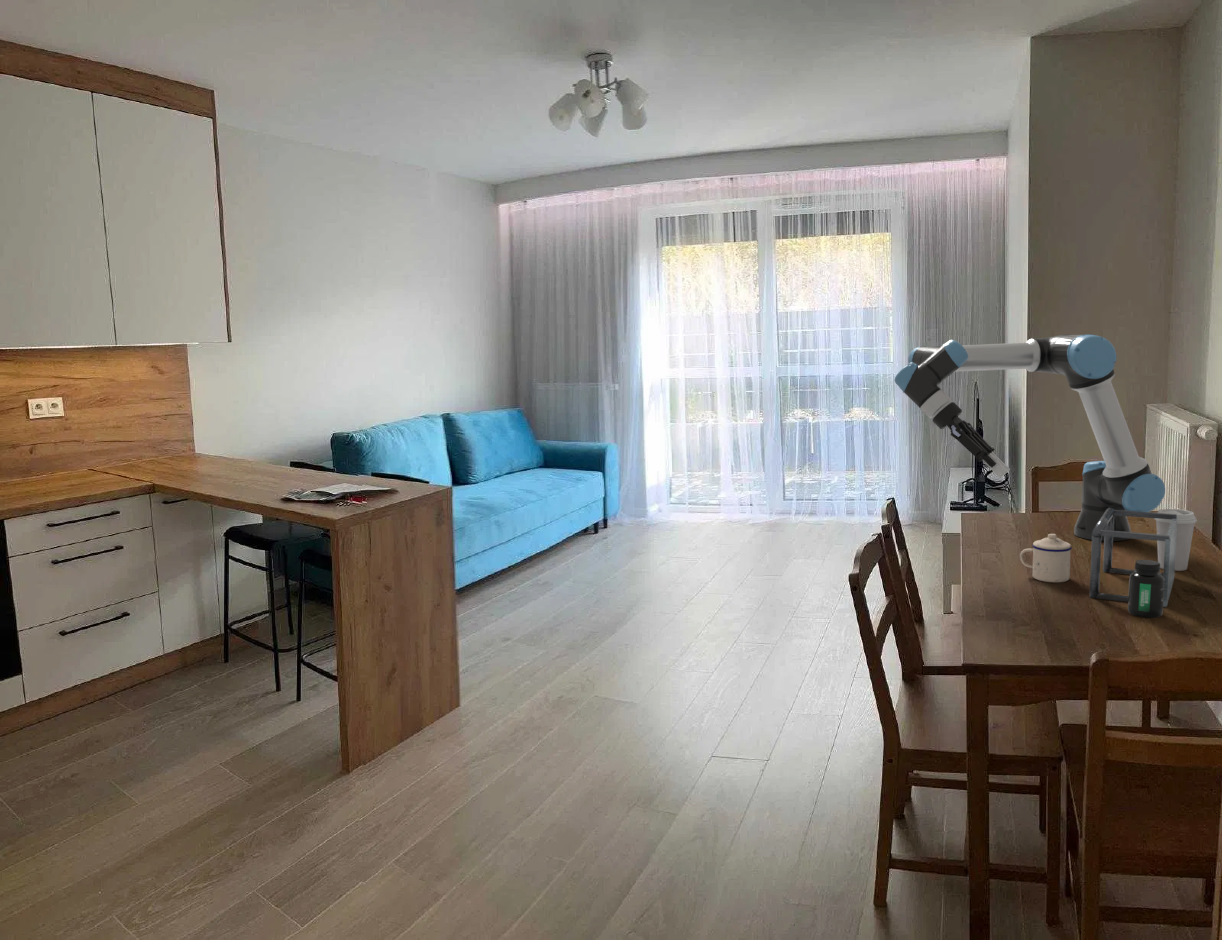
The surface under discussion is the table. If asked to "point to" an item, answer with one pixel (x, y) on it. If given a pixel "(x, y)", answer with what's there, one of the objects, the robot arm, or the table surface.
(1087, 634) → the table surface
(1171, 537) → the box
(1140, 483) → the robot arm
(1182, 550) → the coffee cup
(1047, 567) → the teacup with lid
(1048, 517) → the table surface
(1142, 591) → the supplement bottle
